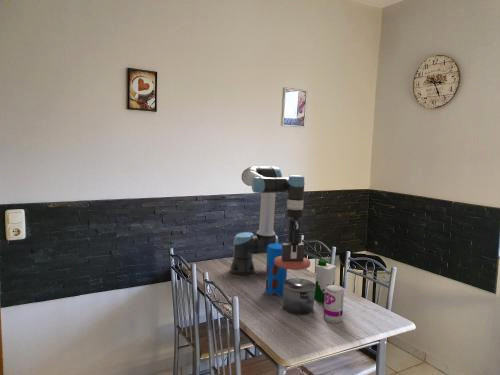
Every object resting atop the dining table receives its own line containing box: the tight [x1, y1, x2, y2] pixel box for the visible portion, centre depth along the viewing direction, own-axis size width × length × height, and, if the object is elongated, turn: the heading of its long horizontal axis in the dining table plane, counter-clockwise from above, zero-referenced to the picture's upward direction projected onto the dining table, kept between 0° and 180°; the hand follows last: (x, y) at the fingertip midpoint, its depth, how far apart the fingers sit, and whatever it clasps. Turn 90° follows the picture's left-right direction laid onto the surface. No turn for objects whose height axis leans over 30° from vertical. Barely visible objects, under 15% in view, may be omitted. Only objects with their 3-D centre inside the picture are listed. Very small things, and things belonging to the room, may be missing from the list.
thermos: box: [265, 242, 288, 297], centre depth 195 cm, size 11×11×25 cm
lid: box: [274, 242, 311, 271], centre depth 175 cm, size 17×17×10 cm
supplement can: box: [323, 284, 345, 324], centre depth 167 cm, size 8×8×15 cm
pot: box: [281, 277, 316, 316], centre depth 177 cm, size 21×16×12 cm
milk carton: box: [314, 259, 337, 304], centre depth 187 cm, size 9×9×20 cm
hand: (292, 257), depth 175 cm, fingers closed on lid, 3 cm apart
